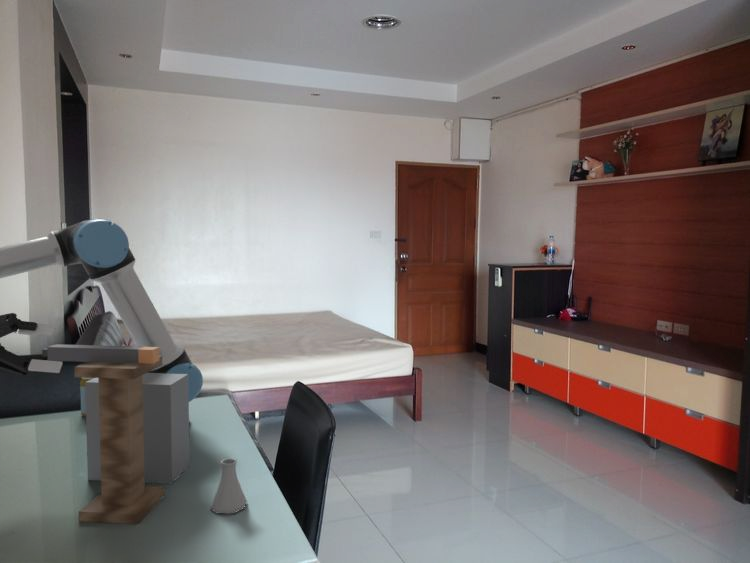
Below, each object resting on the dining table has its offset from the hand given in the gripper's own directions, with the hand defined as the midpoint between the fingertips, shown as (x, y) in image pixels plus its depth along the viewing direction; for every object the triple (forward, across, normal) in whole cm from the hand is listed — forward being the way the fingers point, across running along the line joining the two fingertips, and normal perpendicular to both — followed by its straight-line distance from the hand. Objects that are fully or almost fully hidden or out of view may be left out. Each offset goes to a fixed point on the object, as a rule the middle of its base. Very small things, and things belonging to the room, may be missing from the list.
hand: (57, 349), depth 126 cm
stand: (+20, -9, -32) cm, 39 cm away
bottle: (0, -56, +17) cm, 58 cm away
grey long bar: (+13, +13, -11) cm, 21 cm away
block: (+21, -21, -18) cm, 35 cm away
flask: (+42, -4, -33) cm, 53 cm away
